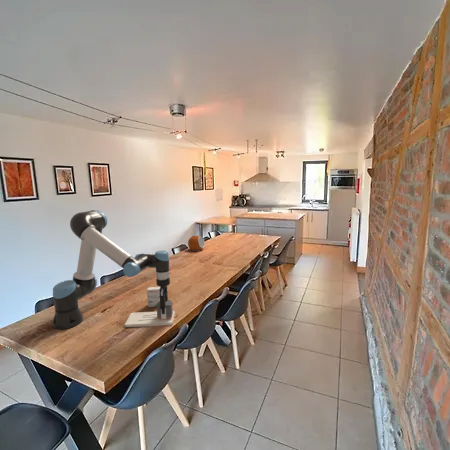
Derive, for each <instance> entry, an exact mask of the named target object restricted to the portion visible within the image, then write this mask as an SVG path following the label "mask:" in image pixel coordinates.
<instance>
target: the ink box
mask: <svg viewBox="0 0 450 450" xmlns="http://www.w3.org/2000/svg"><path fill="white" fill-rule="evenodd" d="M159 293H160V286H154V287H152V286H151V287H147V290H146V297H147V307H148V308H155V307H156V308H157V304H158V301H160V294H159Z"/></svg>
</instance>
